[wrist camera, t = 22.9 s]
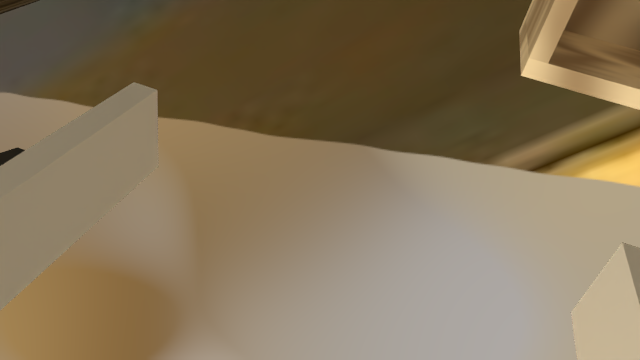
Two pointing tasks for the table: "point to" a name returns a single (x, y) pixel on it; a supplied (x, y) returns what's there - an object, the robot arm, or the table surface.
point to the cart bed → (584, 47)
